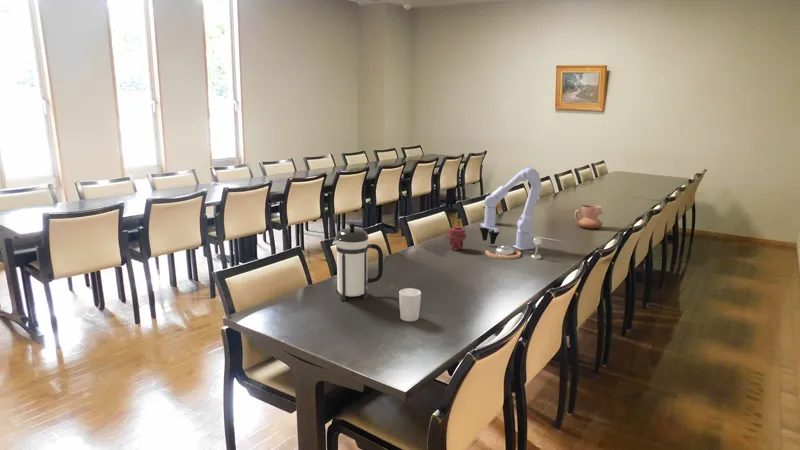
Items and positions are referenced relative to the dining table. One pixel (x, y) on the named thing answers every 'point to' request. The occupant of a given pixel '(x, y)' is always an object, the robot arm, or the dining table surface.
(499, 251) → the cast cover
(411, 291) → the white cup
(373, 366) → the dining table surface
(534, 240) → the wine glass
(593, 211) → the ceramic jug
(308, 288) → the dining table surface
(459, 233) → the mechanical component
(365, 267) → the coffee press
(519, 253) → the ring
